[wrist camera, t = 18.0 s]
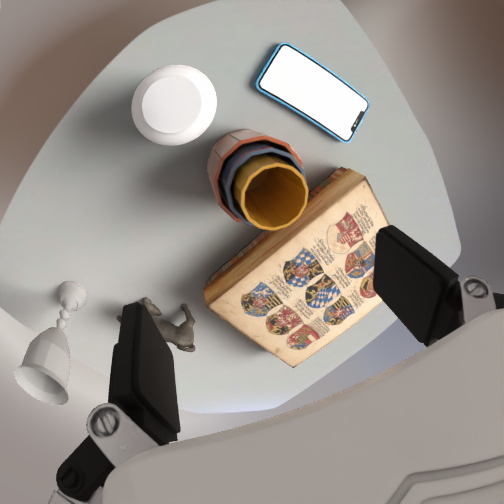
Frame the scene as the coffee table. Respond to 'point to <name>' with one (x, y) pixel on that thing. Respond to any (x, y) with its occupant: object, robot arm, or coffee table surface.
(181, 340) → the dog figurine
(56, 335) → the chalice
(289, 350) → the book
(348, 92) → the smartphone
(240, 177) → the ochre cup
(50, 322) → the coffee table surface
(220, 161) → the cup stack
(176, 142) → the pill bottle
